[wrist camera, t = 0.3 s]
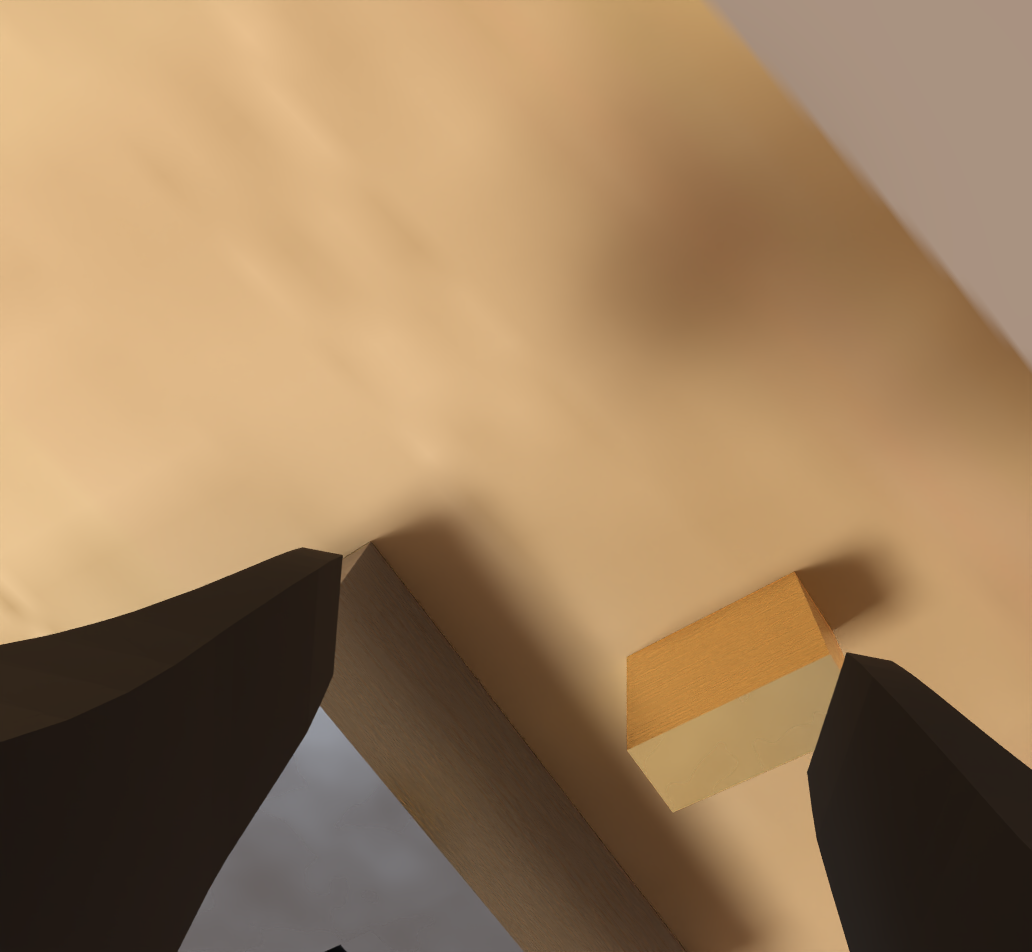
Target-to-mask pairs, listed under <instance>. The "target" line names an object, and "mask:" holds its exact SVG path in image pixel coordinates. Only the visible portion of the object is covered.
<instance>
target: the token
mask: <svg viewBox="0 0 1032 952" xmlns="http://www.w3.org/2000/svg"><path fill="white" fill-rule="evenodd" d="M844 659H845V658H844V656H843V653H842V651H841V649H840V647H839V645H838V642H837V640H836V638H835V636H834V634H833V631H832V630H831V628H830V627H829V625H828V623H827V622H826V620H825V619H824V617H823V616H822V614H821V612H820V611H819V609H818V608H817V606H816V605H815V603H814V601H813V600H812V598H811V597H810V595H809V594H808V592H807V590H806V589H805V587H804V586H803V584H802V583H801V581H800V579H799V578H798V576H797V575H796V573H795V572H792V573H790V574H789V575H787V576H785V577H783V578H781V579H779V580H777V581H775V582H773V583H771V584H769V585H767V586H765V587H763V588H761V589H759V590H757V591H755V592H753V593H751V594H749V595H747V596H745V597H744V598H742V599H740V600H738V601H736V602H734V603H732V604H730V605H728V606H726V607H724V608H722V609H720V610H718V611H716V612H714V613H712V614H710V615H708V616H706V617H704V618H702V619H700V620H698V621H697V622H695V623H693V624H691V625H689V626H687V627H685V628H683V629H681V630H679V631H677V632H675V633H673V634H671V635H669V636H667V637H665V638H663V639H661V640H659V641H657V642H655V643H653V644H652V645H650V646H648V647H646V648H644V649H642V650H640V651H638V652H636V653H634V654H632V655H630V656H628V657H627V751H628V753H629V754H630V755H631V757H632V758H633V759H634V761H635V762H636V763H637V765H638V766H639V768H640V769H641V770H642V772H643V773H644V774H645V776H646V777H647V778H648V780H649V781H650V783H651V784H652V785H653V787H654V788H655V789H656V791H657V792H658V793H659V795H660V796H661V797H662V799H663V800H664V802H665V803H666V804H667V806H668V807H669V808H670V810H671V811H672V812H673V813H674V812H676V811H678V810H680V809H683V808H685V807H687V806H690V805H692V804H694V803H696V802H699V801H701V800H703V799H706V798H708V797H710V796H712V795H715V794H717V793H719V792H721V791H724V790H726V789H728V788H731V787H733V786H735V785H737V784H740V783H742V782H744V781H746V780H749V779H751V778H753V777H756V776H758V775H760V774H762V773H765V772H767V771H769V770H772V769H774V768H776V767H778V766H781V765H783V764H785V763H787V762H790V761H792V760H794V759H797V758H799V757H801V756H803V755H806V754H808V753H810V752H812V751H814V750H815V747H816V744H817V741H818V738H819V735H820V732H821V729H822V726H823V723H824V720H825V717H826V714H827V711H828V707H829V704H830V701H831V698H832V695H833V692H834V689H835V686H836V683H837V680H838V677H839V674H840V671H841V668H842V665H843V662H844Z"/></svg>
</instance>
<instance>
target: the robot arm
mask: <svg viewBox="0 0 1032 952" xmlns="http://www.w3.org/2000/svg"><path fill="white" fill-rule="evenodd" d="M342 558H343V555H339V554H334V553H329V552H323V551H318V550H313V549H308V548H303V547H302V548H299V549H295V550H292V551H289V552H286V553H284V554H281V555H278V556H276V557H273V558H271V559H268V560H266V561H263V562H261V563H259V564H256V565H254V566H251V567H249V568H247V569H244V570H242V571H239V572H237V573H234V574H232V575H230V576H227V577H225V578H222V579H220V580H217V581H215V582H212V583H210V584H208V585H205V586H203V587H200V588H198V589H195V590H192V591H190V592H187V593H184V594H181V595H178V596H176V597H173V598H170V599H167V600H165V601H162V602H159V603H156V604H154V605H151V606H148V607H145V608H142V609H140V610H137V611H134V612H131V613H128V614H125V615H121V616H118V617H115V618H112V619H108V620H105V621H101V622H98V623H94V624H91V625H87V626H83V627H79V628H75V629H72V630H68V631H64V632H60V633H56V634H52V635H48V636H43V637H39V638H33V639H28V640H23V641H18V642H13V643H8V644H3V645H0V952H178V950H179V948H180V946H181V944H182V942H183V940H184V938H185V936H186V934H187V932H188V930H189V928H190V926H191V924H192V922H193V920H194V918H195V916H196V914H197V912H198V910H199V908H200V906H201V904H202V903H203V901H204V899H205V897H206V895H207V893H208V891H209V889H210V887H211V885H212V883H213V882H214V880H215V878H216V877H217V875H218V873H219V871H220V870H221V868H222V866H223V865H224V863H225V861H226V859H227V858H228V856H229V855H230V853H231V851H232V850H233V848H234V847H235V845H236V844H237V842H238V841H239V839H240V837H241V836H242V834H243V833H244V831H245V830H246V828H247V827H248V825H249V823H250V822H251V820H252V819H253V817H254V816H255V814H256V813H257V811H258V809H259V808H260V806H261V805H262V803H263V802H264V800H265V799H266V797H267V795H268V794H269V792H270V791H271V789H272V788H273V786H274V785H275V783H276V781H277V780H278V778H279V777H280V775H281V774H282V772H283V770H284V769H285V767H286V766H287V764H288V762H289V761H290V759H291V758H292V756H293V755H294V753H295V751H296V750H297V748H298V747H299V745H300V743H301V742H302V740H303V739H304V737H305V735H306V734H307V732H308V730H309V728H310V726H311V724H312V721H313V719H314V717H315V715H316V713H317V711H318V709H319V707H320V704H321V702H322V700H323V698H324V695H325V693H326V691H327V689H328V686H329V684H330V682H331V679H332V677H333V672H334V660H335V647H336V634H337V622H338V609H339V596H340V584H341V571H342ZM807 774H808V782H809V790H810V798H811V805H812V812H813V818H814V825H815V831H816V837H817V841H818V845H819V849H820V852H821V856H822V859H823V863H824V866H825V870H826V873H827V877H828V880H829V884H830V887H831V891H832V894H833V897H834V901H835V904H836V907H837V911H838V914H839V917H840V921H841V924H842V927H843V931H844V934H845V937H846V941H847V944H848V947H849V951H850V952H1032V770H1031V769H1030V768H1029V767H1028V766H1026V765H1025V764H1024V763H1022V762H1021V761H1020V760H1018V759H1017V758H1016V757H1015V756H1013V755H1012V754H1011V753H1010V752H1008V751H1007V750H1006V749H1004V748H1003V747H1002V746H1001V745H999V744H998V743H997V742H996V741H994V740H993V739H992V738H991V737H989V736H988V735H987V734H986V733H984V732H983V731H982V730H981V729H979V728H978V727H977V726H976V725H975V724H973V723H972V722H971V721H970V720H968V719H967V718H966V717H965V716H963V715H962V714H961V713H960V712H959V711H957V710H956V709H955V708H954V707H952V706H951V705H950V704H949V703H947V702H946V701H945V700H944V699H943V698H941V697H940V696H939V695H938V694H936V693H935V692H934V691H933V690H931V689H930V688H929V687H928V686H926V685H925V684H924V683H922V682H921V681H920V680H919V679H917V678H916V677H915V676H913V675H912V674H911V673H909V672H908V671H906V670H905V669H903V668H902V667H900V666H899V665H897V664H896V663H894V662H892V661H889V660H884V659H879V658H873V657H868V656H863V655H858V654H853V653H846V656H845V659H844V662H843V665H842V668H841V671H840V674H839V677H838V680H837V683H836V686H835V689H834V692H833V695H832V698H831V701H830V704H829V707H828V711H827V714H826V717H825V720H824V723H823V726H822V729H821V732H820V735H819V738H818V741H817V744H816V747H815V750H814V753H813V756H812V759H811V762H810V765H809V768H808V771H807Z"/></svg>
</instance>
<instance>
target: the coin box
mask: <svg viewBox="0 0 1032 952" xmlns="http://www.w3.org/2000/svg"><path fill="white" fill-rule="evenodd" d="M178 952H686V951H685V950H684V948H683V947H682V946H681V944H680V943H679V942H678V941H677V939H676V938H675V937H674V935H673V934H672V933H671V931H670V930H669V929H668V928H667V926H666V925H665V924H664V922H663V921H662V920H661V918H660V917H659V916H658V915H657V913H656V912H655V911H654V909H653V908H652V907H651V905H650V904H649V903H648V902H647V900H646V899H645V898H644V896H643V895H642V894H641V892H640V891H639V890H638V889H637V887H636V886H635V885H634V883H633V882H632V881H631V879H630V878H629V877H628V876H627V874H626V873H625V872H624V870H623V869H622V868H621V866H620V865H619V864H618V863H617V861H616V860H615V859H614V857H613V856H612V855H611V853H610V852H609V851H608V850H607V848H606V847H605V846H604V844H603V843H602V842H601V840H600V839H599V838H598V837H597V835H596V834H595V833H594V831H593V830H592V829H591V827H590V826H589V825H588V823H587V822H586V821H585V820H584V818H583V817H582V816H581V814H580V813H579V812H578V810H577V809H576V808H575V807H574V805H573V804H572V803H571V801H570V800H569V799H568V797H567V796H566V795H565V794H564V792H563V791H562V790H561V788H560V787H559V786H558V784H557V783H556V782H555V781H554V779H553V778H552V777H551V775H550V774H549V773H548V771H547V770H546V769H545V768H544V766H543V765H542V764H541V762H540V761H539V760H538V758H537V757H536V756H535V755H534V753H533V752H532V751H531V749H530V748H529V747H528V745H527V744H526V743H525V742H524V740H523V739H522V738H521V736H520V735H519V734H518V732H517V731H516V730H515V729H514V727H513V726H512V725H511V723H510V722H509V721H508V719H507V718H506V717H505V716H504V714H503V713H502V712H501V710H500V709H499V708H498V706H497V705H496V704H495V703H494V701H493V700H492V699H491V697H490V696H489V695H488V693H487V692H486V691H485V690H484V688H483V687H482V686H481V684H480V683H479V682H478V680H477V679H476V678H475V677H474V675H473V674H472V673H471V671H470V670H469V669H468V667H467V666H466V665H465V664H464V662H463V661H462V660H461V658H460V657H459V656H458V654H457V653H456V652H455V651H454V649H453V648H452V647H451V645H450V644H449V643H448V641H447V640H446V639H445V637H444V636H443V635H442V634H441V632H440V631H439V630H438V628H437V627H436V626H435V624H434V623H433V622H432V621H431V619H430V618H429V617H428V615H427V614H426V613H425V611H424V610H423V609H422V608H421V606H420V605H419V604H418V602H417V601H416V600H415V598H414V597H413V596H412V595H411V593H410V592H409V591H408V589H407V588H406V587H405V585H404V584H403V583H402V582H401V580H400V579H399V578H398V576H397V575H396V574H395V572H394V571H393V570H392V569H391V567H390V566H389V565H388V563H387V562H386V561H385V559H384V558H383V557H382V556H381V554H380V553H379V552H378V550H377V549H376V548H375V546H374V545H373V544H372V543H371V542H369V543H367V544H366V545H364V546H363V547H361V548H359V549H358V550H356V551H355V552H353V553H351V554H350V555H348V556H347V557H345V558H343V559H342V571H341V584H340V596H339V609H338V622H337V634H336V647H335V660H334V672H333V677H332V679H331V682H330V684H329V686H328V689H327V691H326V693H325V695H324V698H323V700H322V702H321V704H320V707H319V709H318V711H317V713H316V715H315V717H314V719H313V721H312V724H311V726H310V728H309V730H308V732H307V734H306V735H305V737H304V739H303V740H302V742H301V743H300V745H299V747H298V748H297V750H296V751H295V753H294V755H293V756H292V758H291V759H290V761H289V762H288V764H287V766H286V767H285V769H284V770H283V772H282V774H281V775H280V777H279V778H278V780H277V781H276V783H275V785H274V786H273V788H272V789H271V791H270V792H269V794H268V795H267V797H266V799H265V800H264V802H263V803H262V805H261V806H260V808H259V809H258V811H257V813H256V814H255V816H254V817H253V819H252V820H251V822H250V823H249V825H248V827H247V828H246V830H245V831H244V833H243V834H242V836H241V837H240V839H239V841H238V842H237V844H236V845H235V847H234V848H233V850H232V851H231V853H230V855H229V856H228V858H227V859H226V861H225V863H224V865H223V866H222V868H221V870H220V871H219V873H218V875H217V877H216V878H215V880H214V882H213V883H212V885H211V887H210V889H209V891H208V893H207V895H206V897H205V899H204V901H203V903H202V904H201V906H200V908H199V910H198V912H197V914H196V916H195V918H194V920H193V922H192V924H191V926H190V928H189V930H188V932H187V934H186V936H185V938H184V940H183V942H182V944H181V946H180V948H179V950H178Z"/></svg>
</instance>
